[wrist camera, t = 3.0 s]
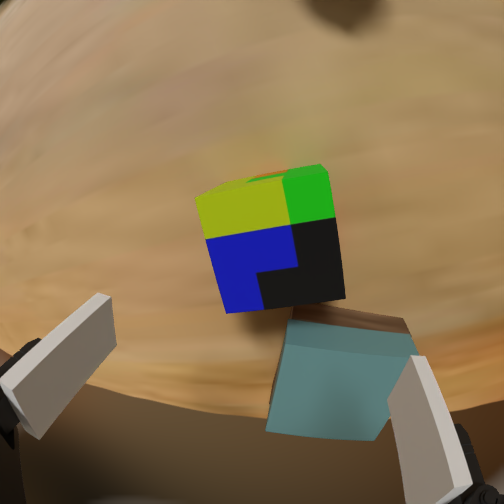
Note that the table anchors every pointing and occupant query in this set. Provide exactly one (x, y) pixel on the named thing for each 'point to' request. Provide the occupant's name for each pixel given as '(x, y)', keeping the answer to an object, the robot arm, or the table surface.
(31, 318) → the table surface
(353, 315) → the base block
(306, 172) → the puzzle toy
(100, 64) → the table surface
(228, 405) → the table surface
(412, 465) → the robot arm
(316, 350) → the top block
